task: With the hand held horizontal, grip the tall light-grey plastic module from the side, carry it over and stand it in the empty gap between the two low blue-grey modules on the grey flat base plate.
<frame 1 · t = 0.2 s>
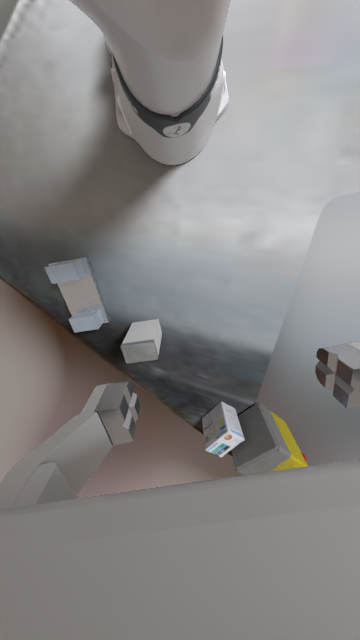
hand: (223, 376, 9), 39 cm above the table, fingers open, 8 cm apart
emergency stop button: (262, 427, 69), on the table
mounted modules: (83, 293, 47), resting on grey flat base plate
light bulb box: (218, 413, 66), on the table
grey flat base plate: (83, 293, 47), on the table
grey module: (147, 328, 52), on the table
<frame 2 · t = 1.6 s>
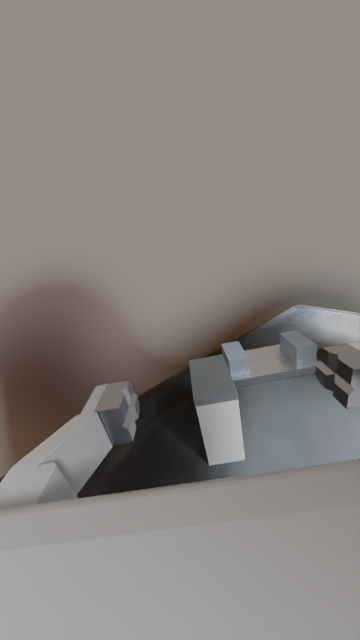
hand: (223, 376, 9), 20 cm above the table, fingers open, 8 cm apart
mounted modules: (266, 365, 39), resting on grey flat base plate
grey flat base plate: (266, 365, 39), on the table
grey module: (220, 436, 27), on the table
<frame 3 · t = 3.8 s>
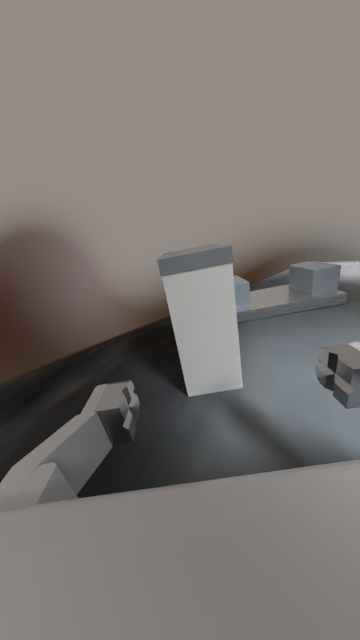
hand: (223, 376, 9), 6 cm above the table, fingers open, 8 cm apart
mounted modules: (271, 304, 31), resting on grey flat base plate
grey flat base plate: (271, 304, 31), on the table
grey module: (208, 366, 19), on the table
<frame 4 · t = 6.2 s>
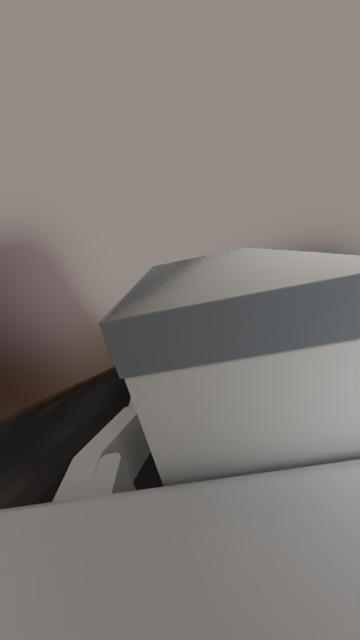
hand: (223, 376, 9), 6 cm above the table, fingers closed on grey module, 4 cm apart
grey module: (239, 482, 10), on the table, touching gripper
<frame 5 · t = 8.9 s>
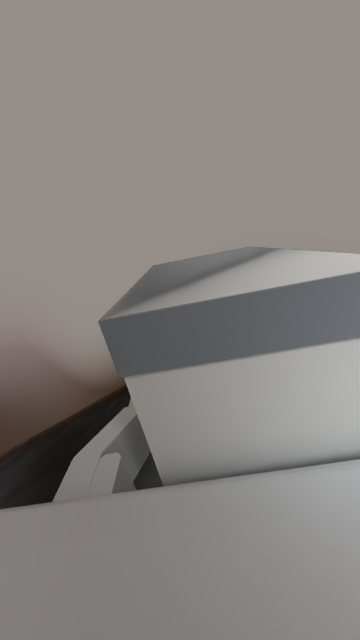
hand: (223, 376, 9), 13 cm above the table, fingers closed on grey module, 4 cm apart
grey module: (239, 482, 10), point 7 cm above the table, touching gripper
when the fingers open (9 cm above the table, at t = 12.0 s): grey module drops 1 cm, resting on grey flat base plate.
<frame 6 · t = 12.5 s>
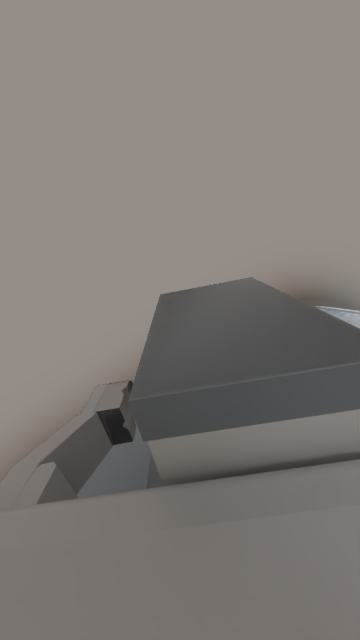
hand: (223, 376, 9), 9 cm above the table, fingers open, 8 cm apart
mounted modules: (242, 512, 11), resting on grey flat base plate
grey module: (242, 498, 11), point 1 cm above the table, touching grey flat base plate
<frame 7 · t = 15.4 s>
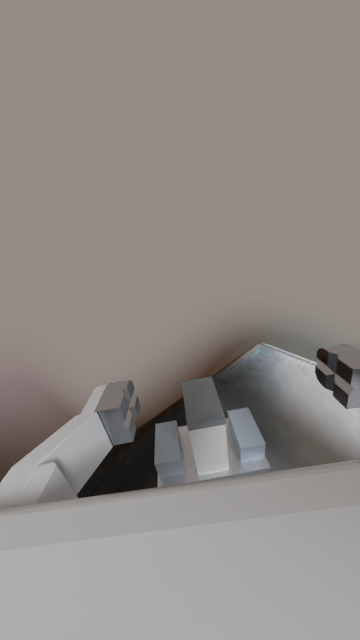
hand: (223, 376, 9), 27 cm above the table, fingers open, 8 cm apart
mounted modules: (208, 452, 32), resting on grey flat base plate
grey flat base plate: (208, 452, 32), on the table
grey module: (208, 447, 31), point 1 cm above the table, touching grey flat base plate
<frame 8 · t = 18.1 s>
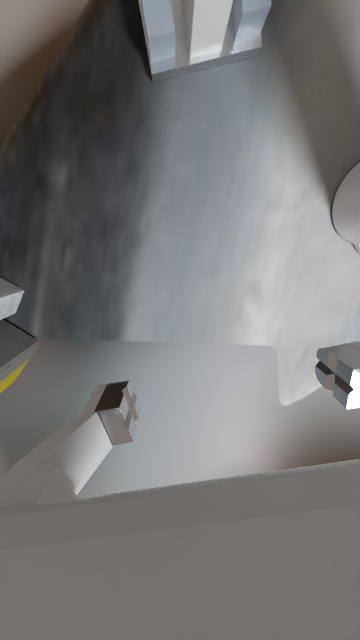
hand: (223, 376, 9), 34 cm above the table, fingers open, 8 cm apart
mounted modules: (200, 28, 28), resting on grey flat base plate
grey flat base plate: (200, 28, 28), on the table
grey module: (202, 17, 26), point 1 cm above the table, touching grey flat base plate
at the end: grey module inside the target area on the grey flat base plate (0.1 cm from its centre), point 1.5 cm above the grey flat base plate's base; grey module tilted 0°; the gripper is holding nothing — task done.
